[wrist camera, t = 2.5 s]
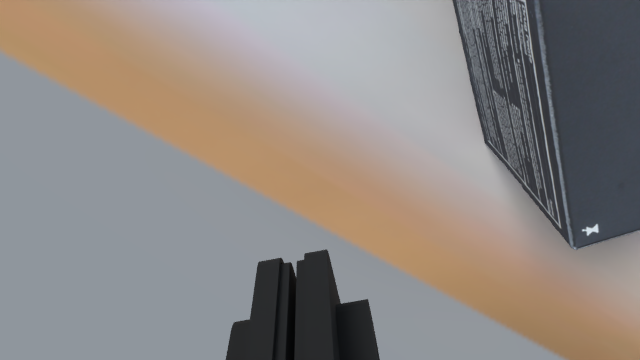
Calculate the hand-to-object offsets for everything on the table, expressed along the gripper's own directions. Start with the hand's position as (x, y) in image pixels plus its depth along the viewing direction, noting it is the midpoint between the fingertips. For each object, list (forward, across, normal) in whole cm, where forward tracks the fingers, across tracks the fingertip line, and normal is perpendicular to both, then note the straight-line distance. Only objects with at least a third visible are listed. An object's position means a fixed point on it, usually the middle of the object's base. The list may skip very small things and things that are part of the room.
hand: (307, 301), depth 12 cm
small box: (+16, -12, 0) cm, 20 cm away
